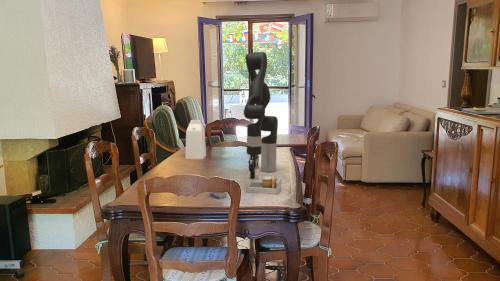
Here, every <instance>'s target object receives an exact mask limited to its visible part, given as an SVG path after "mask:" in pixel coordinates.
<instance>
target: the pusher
mask: <svg viewBox="0 0 500 281" xmlns="http://www.w3.org/2000/svg"><path fill="white" fill-rule="evenodd" d="M277 178H278V177H277V176H274V177H272V188H273V189H276V183H277V181H278V179H277Z"/></svg>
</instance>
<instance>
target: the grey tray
mask: <svg viewBox="0 0 500 281" xmlns="http://www.w3.org/2000/svg"><path fill="white" fill-rule="evenodd" d="M250 181H251V182H250V186H246V193H255V194H266V193H270V195H279V193H280V191H281V189H282V176H279V177H278V179H277V180H276V189H273V188H262V181H255V180H250Z"/></svg>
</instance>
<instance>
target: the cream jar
mask: <svg viewBox="0 0 500 281" xmlns="http://www.w3.org/2000/svg"><path fill="white" fill-rule="evenodd" d="M251 169H253V168H252V167H251ZM259 170H260V165H259V164H258V165H256V167H255V179H250V171H249V170H248V180H249V181H258V180H259V179H260V177H259V175H260V172H259Z"/></svg>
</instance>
